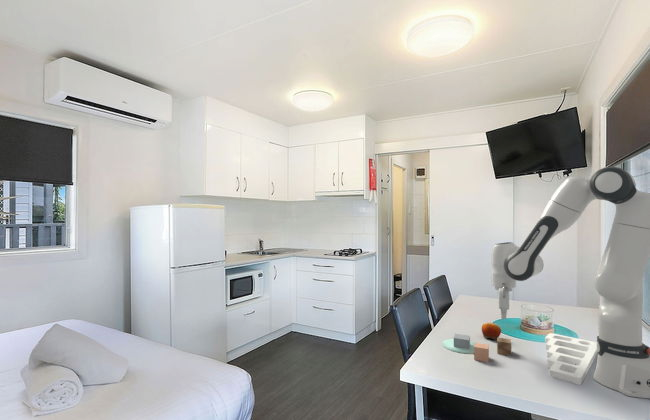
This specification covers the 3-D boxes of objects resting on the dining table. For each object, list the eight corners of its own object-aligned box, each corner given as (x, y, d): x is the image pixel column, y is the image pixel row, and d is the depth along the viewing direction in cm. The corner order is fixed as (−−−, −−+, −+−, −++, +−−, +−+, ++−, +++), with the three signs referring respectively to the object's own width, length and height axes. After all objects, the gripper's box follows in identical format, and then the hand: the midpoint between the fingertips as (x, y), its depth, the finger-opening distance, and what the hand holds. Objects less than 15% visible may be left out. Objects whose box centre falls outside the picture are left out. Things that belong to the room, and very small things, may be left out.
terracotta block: (488, 357, 134) (488, 344, 134) (488, 362, 130) (488, 349, 130) (474, 355, 136) (474, 342, 136) (474, 359, 132) (474, 346, 132)
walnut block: (510, 351, 140) (510, 339, 140) (511, 355, 136) (511, 343, 136) (497, 349, 142) (497, 337, 143) (497, 353, 138) (497, 341, 138)
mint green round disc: (483, 343, 149) (483, 334, 149) (481, 356, 135) (481, 346, 135) (444, 337, 156) (444, 328, 156) (439, 349, 142) (439, 339, 142)
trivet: (581, 386, 112) (580, 378, 112) (520, 369, 125) (520, 361, 125) (599, 349, 144) (599, 343, 144) (549, 338, 156) (549, 332, 156)
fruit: (480, 337, 152) (481, 319, 156) (481, 341, 158) (482, 324, 162) (501, 340, 149) (501, 322, 152) (501, 344, 154) (501, 327, 158)
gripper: (513, 287, 129) (513, 323, 129) (511, 278, 147) (511, 310, 147) (494, 285, 132) (494, 321, 132) (495, 277, 150) (495, 308, 150)
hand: (503, 315), depth 139 cm, fingers open, 8 cm apart
